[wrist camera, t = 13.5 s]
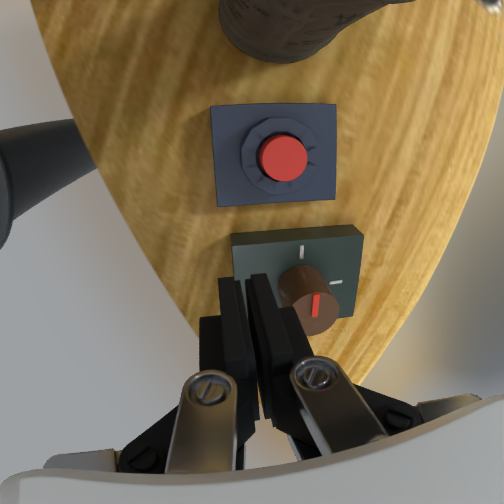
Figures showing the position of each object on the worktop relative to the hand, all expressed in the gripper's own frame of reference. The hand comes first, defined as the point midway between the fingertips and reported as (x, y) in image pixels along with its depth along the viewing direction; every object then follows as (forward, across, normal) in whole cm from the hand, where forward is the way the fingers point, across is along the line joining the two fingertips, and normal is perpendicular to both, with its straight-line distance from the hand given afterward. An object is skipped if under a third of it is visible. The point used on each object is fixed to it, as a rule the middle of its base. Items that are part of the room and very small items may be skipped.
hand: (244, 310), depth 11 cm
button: (+16, -5, -3) cm, 17 cm away
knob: (+17, -7, +10) cm, 21 cm away
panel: (+20, -7, +10) cm, 23 cm away
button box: (+20, -5, -3) cm, 21 cm away
